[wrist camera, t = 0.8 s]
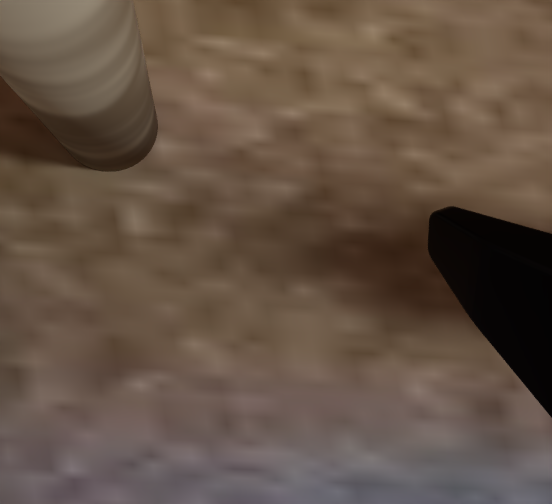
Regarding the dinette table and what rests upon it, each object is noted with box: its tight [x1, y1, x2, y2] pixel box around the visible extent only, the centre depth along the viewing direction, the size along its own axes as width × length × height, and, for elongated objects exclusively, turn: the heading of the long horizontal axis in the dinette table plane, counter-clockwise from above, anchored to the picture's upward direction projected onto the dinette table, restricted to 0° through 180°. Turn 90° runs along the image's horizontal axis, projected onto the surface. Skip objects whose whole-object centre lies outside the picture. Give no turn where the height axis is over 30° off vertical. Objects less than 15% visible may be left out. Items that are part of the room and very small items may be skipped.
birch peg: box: [0, 0, 158, 171], centre depth 15 cm, size 4×4×14 cm
